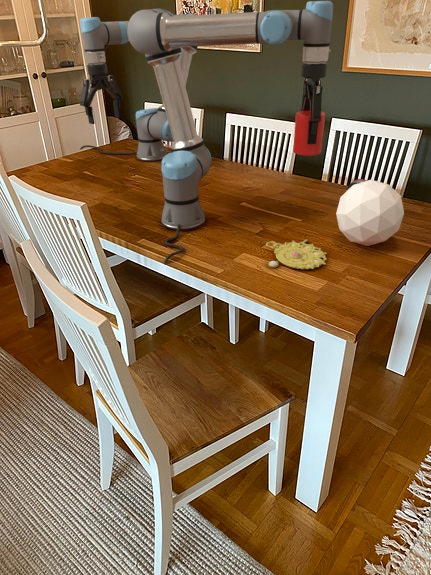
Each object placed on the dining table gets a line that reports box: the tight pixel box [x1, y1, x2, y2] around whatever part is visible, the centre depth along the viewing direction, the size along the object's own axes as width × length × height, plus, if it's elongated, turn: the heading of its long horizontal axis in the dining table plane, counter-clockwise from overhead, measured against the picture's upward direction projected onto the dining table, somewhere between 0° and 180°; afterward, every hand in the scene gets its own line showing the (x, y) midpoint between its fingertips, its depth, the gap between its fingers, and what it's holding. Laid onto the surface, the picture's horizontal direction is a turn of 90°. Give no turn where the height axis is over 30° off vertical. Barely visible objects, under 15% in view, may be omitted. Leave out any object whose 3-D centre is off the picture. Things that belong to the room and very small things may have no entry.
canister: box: [292, 110, 326, 157], centre depth 142 cm, size 9×9×12 cm
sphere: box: [335, 179, 405, 247], centre depth 135 cm, size 19×20×20 cm
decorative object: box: [265, 238, 328, 270], centre depth 132 cm, size 21×2×20 cm
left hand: (105, 120), depth 184 cm, fingers open, 13 cm apart
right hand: (308, 139), depth 144 cm, fingers closed on canister, 9 cm apart
